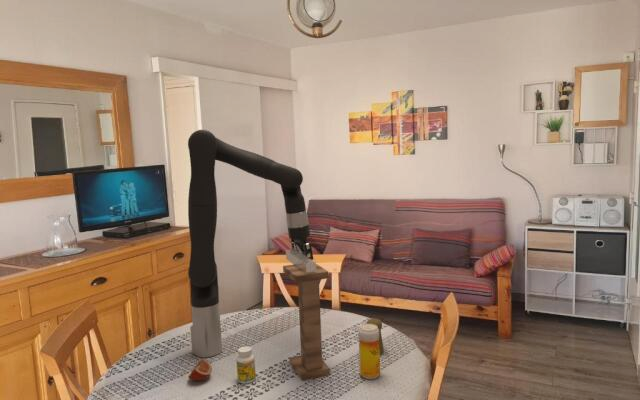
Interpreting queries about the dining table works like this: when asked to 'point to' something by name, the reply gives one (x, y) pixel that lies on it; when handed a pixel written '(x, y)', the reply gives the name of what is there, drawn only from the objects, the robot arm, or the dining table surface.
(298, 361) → the walnut stand
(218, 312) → the robot arm
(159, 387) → the dining table surface
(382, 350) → the cork
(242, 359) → the supplement bottle
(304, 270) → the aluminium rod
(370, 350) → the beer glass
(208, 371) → the fruit slice
